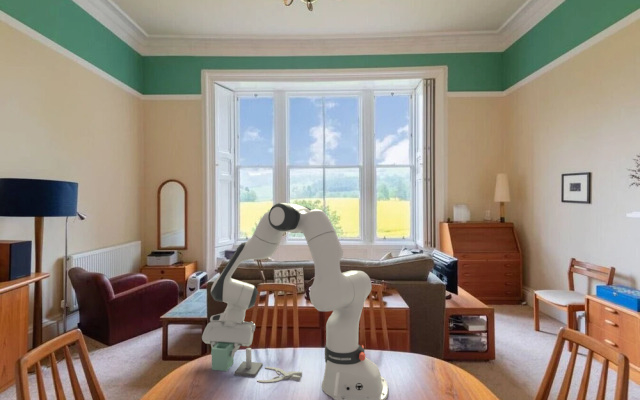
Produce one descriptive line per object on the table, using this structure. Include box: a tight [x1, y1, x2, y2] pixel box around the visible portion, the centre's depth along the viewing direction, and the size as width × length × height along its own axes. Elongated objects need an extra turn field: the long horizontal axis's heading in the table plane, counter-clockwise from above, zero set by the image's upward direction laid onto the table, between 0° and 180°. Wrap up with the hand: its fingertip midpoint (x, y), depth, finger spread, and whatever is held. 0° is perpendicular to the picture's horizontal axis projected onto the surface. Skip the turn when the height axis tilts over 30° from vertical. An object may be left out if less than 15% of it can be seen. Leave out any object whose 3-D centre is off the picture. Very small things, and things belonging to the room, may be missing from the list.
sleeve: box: [211, 342, 235, 372], centre depth 127 cm, size 6×6×8 cm
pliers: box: [256, 366, 303, 384], centre depth 120 cm, size 10×2×15 cm
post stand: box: [234, 347, 264, 378], centre depth 124 cm, size 8×8×8 cm
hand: (222, 355), depth 126 cm, fingers closed on sleeve, 6 cm apart
